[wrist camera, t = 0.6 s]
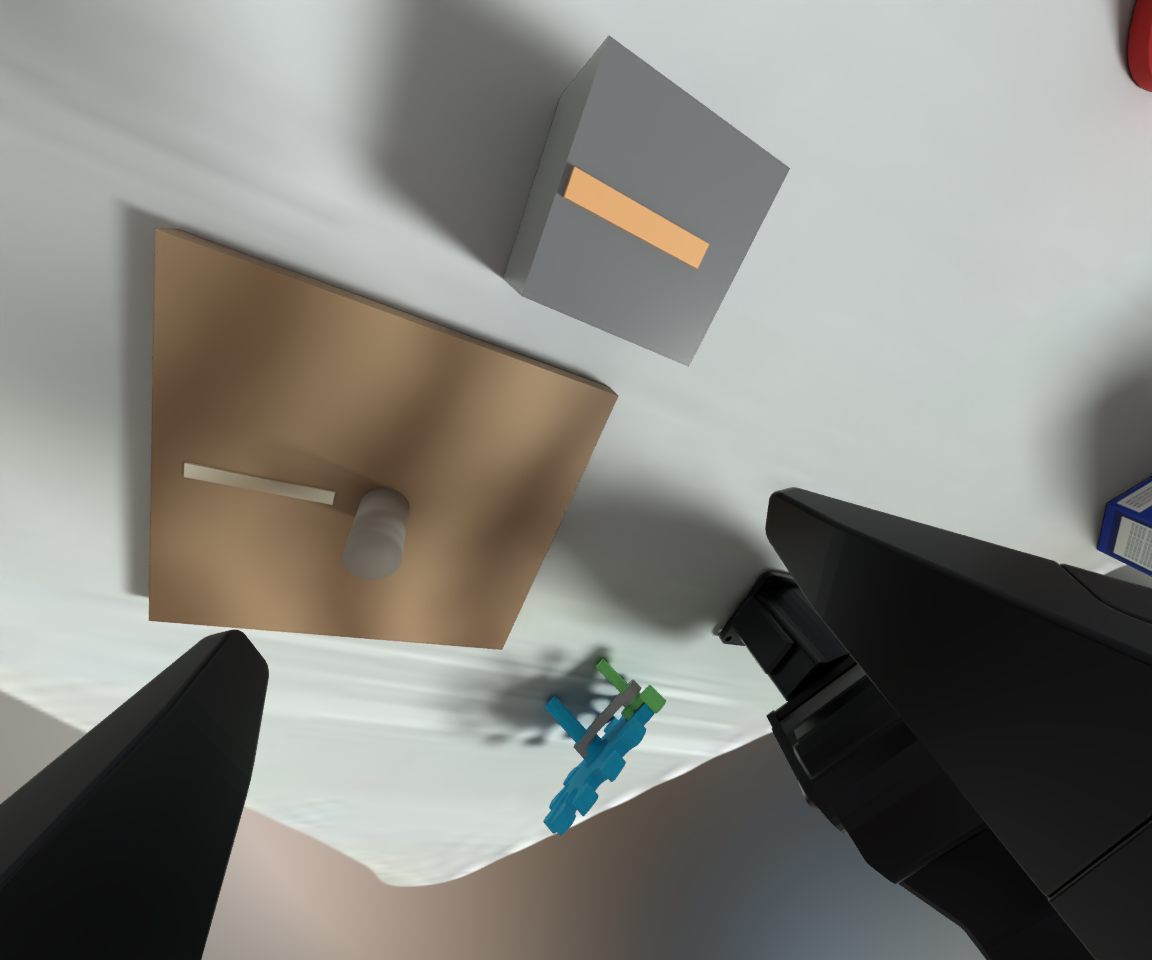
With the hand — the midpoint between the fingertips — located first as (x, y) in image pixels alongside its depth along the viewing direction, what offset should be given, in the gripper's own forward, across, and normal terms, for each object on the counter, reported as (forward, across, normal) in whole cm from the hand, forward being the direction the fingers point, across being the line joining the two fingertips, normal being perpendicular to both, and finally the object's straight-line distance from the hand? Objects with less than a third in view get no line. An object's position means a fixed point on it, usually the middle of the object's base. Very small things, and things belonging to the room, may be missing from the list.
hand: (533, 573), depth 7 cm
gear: (+13, -2, +25) cm, 29 cm away
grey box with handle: (+13, -6, -4) cm, 15 cm away
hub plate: (+13, +6, +5) cm, 15 cm away
